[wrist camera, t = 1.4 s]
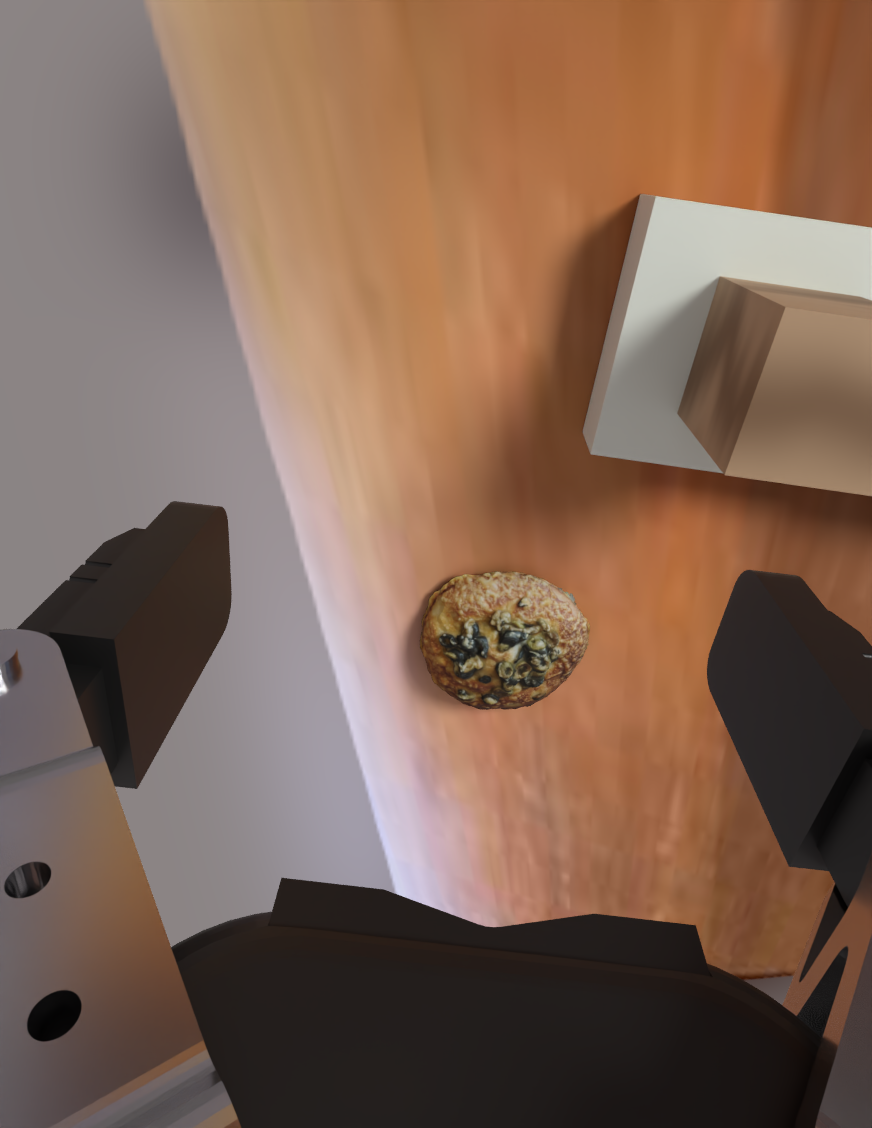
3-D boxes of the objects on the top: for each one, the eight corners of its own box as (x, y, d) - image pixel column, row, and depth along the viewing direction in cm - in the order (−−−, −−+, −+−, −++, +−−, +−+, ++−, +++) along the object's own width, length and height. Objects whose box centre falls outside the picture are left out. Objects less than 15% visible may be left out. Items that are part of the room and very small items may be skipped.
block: (719, 276, 32) (785, 307, 25) (860, 296, 32) (965, 333, 25) (677, 413, 35) (724, 475, 28) (804, 432, 35) (883, 497, 28)
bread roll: (471, 719, 50) (468, 763, 46) (391, 596, 47) (379, 630, 43) (612, 657, 47) (624, 697, 43) (537, 522, 44) (540, 549, 40)
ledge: (640, 193, 33) (655, 196, 30) (968, 241, 33) (1016, 249, 30) (582, 432, 39) (590, 454, 36) (860, 471, 39) (891, 497, 36)
